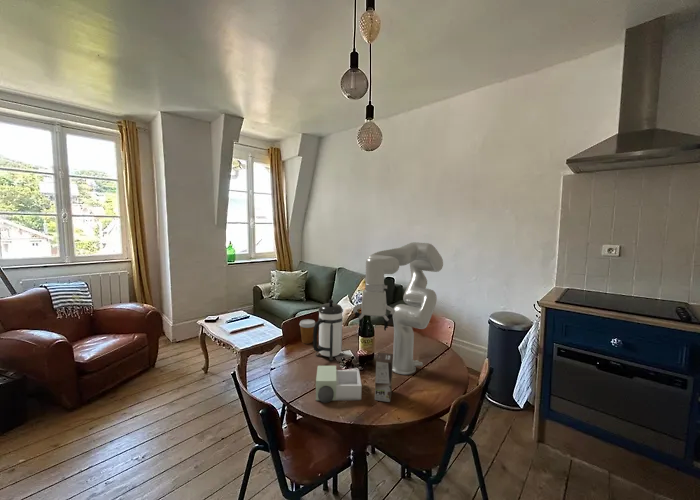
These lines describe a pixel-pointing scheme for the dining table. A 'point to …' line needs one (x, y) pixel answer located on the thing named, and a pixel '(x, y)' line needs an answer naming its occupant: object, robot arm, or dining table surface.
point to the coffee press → (329, 330)
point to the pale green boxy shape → (337, 384)
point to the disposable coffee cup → (307, 330)
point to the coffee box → (383, 377)
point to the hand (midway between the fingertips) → (373, 328)
